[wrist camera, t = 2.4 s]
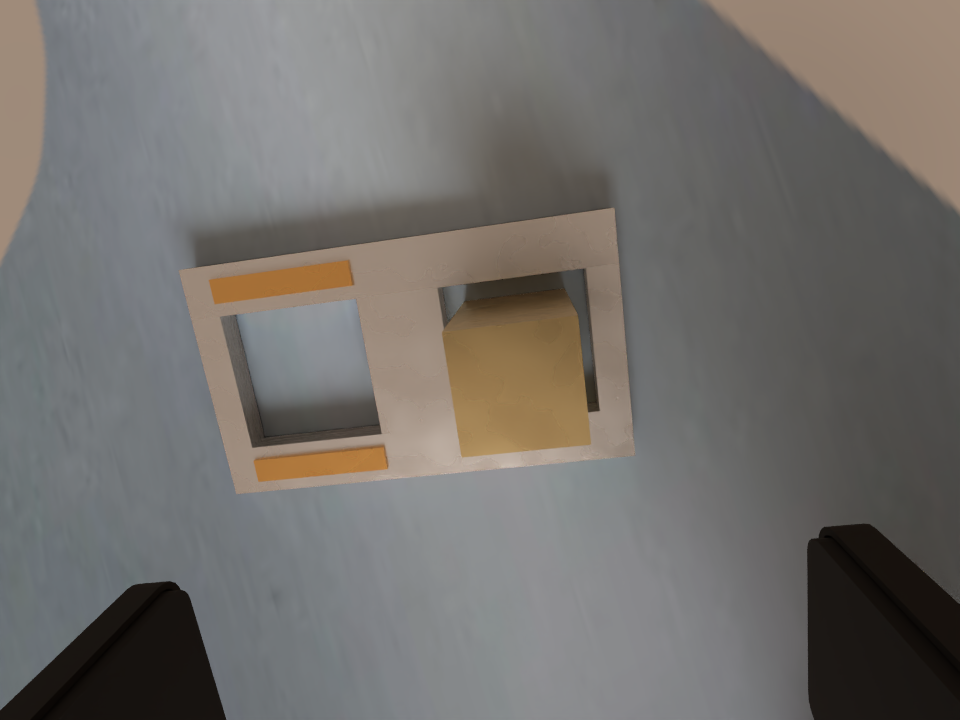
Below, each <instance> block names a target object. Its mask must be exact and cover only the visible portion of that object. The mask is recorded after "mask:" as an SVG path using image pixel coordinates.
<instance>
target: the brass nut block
mask: <svg viewBox="0 0 960 720" xmlns="http://www.w3.org/2000/svg"><path fill="white" fill-rule="evenodd" d="M442 337H443V344H444V350H445V356H446V363H447V369H448V375H449V382H450V388H451V394H452V401H453V407H454V413H455V420H456V426H457V432H458V439H459V445H460V451H461V457H472V456H482V455H493V454H503V453H513V452H523V451H533V450H543V449H553V448H563V447H573V446H583V445H591V438H590V428H589V418H588V408H587V399H586V389H585V379H584V369H583V359H582V350H581V340H580V330H579V320H578V314H577V312H576V310H575V308H574V306H573V304H572V302H571V300H570V298H569V296H568V294H567V292H566V290H565V288H563V289H555V290H547V291H539V292H532V293H524V294H516V295H508V296H501V297H493V298H485V299H478V300H470V301H464V303H463V304H462V305H461V307H460V308H459V309H458V311H457V312H456V314H455V315H454V316H453V318H452V319H451V320H450V322H449V323H448V324H447V326H446V327H445V328H444V330H443V331H442Z"/></svg>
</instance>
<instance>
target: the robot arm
mask: <svg viewBox="0 0 960 720" xmlns="http://www.w3.org/2000/svg"><path fill="white" fill-rule="evenodd" d="M807 568H808V695H809V703H810V708H811V711H812V715H813V717H814V720H960V604H959V603H957V602H956V601H955V600H954V599H953V598H952V597H951V596H950V595H949V594H948V593H946V592H945V591H944V590H943V589H942V588H941V587H940V586H939V585H938V584H936V583H935V582H934V581H933V580H932V579H931V578H930V577H929V576H928V575H927V574H925V573H924V572H923V571H922V570H921V569H920V568H919V567H918V566H917V565H915V564H914V563H913V562H912V561H911V560H910V559H909V558H908V557H907V556H906V555H904V554H903V553H902V552H901V551H900V550H899V549H898V548H897V547H896V546H894V545H893V544H892V543H891V542H890V541H889V540H888V539H887V538H886V537H885V536H883V535H882V534H881V533H880V532H879V531H878V530H877V529H876V528H874V527H873V526H871V525H870V524H855V525H843V526H831V527H824V528H822V529H821V531H820V534H819V538H816V539H811V540H809V543H808V548H807ZM0 720H226V717H225V714H224V710H223V707H222V704H221V700H220V697H219V694H218V690H217V687H216V684H215V680H214V677H213V674H212V670H211V667H210V664H209V660H208V657H207V654H206V650H205V647H204V644H203V640H202V637H201V634H200V630H199V627H198V623H197V620H196V617H195V613H194V610H193V607H192V603H191V600H190V597H189V595H188V594H187V593H186V592H185V591H183V590H180V588H179V586H178V585H177V584H176V583H174V582H171V581H168V582H156V583H144V584H136V585H133V586H131V587H130V588H128V589H127V590H126V591H125V592H124V593H123V594H122V595H121V596H120V597H119V598H118V599H117V600H116V601H115V602H113V603H112V604H111V605H110V606H109V607H108V608H107V609H106V610H105V611H104V612H103V613H102V614H101V615H100V616H99V617H98V618H97V619H96V620H95V621H94V622H92V623H91V624H90V625H89V626H88V627H87V628H86V629H85V630H84V631H83V632H82V633H81V634H80V635H79V636H78V637H77V638H76V639H75V640H74V641H73V642H72V643H70V644H69V645H68V646H67V647H66V648H65V649H64V650H63V651H62V652H61V653H60V654H59V655H58V656H57V657H56V658H55V659H54V660H53V661H52V662H51V663H50V664H48V665H47V666H46V667H45V668H44V669H43V670H42V671H41V672H40V673H39V674H38V675H37V676H36V677H35V678H34V679H33V680H32V681H31V682H30V683H29V684H28V685H26V686H25V687H24V688H23V689H22V690H21V691H20V692H19V693H18V694H17V695H16V696H15V697H14V698H13V699H12V700H11V701H10V702H9V703H8V704H7V705H6V706H4V707H3V708H2V709H1V710H0Z"/></svg>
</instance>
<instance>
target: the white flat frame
mask: <svg viewBox="0 0 960 720" xmlns="http://www.w3.org/2000/svg"><path fill="white" fill-rule="evenodd" d="M582 268H583V270H584V280H585V291H586V301H587V311H588V321H589V331H590V342H591V352H592V362H593V372H594V382H595V392H596V402H589V403H587V408H588V418H589V428H590V438H591V445H583V446H573V447H563V448H553V449H543V450H533V451H523V452H513V453H503V454H493V455H482V456H472V457H461V451H460V445H459V439H458V432H457V426H456V420H455V413H454V407H453V401H452V394H451V388H450V382H449V375H448V369H447V363H446V356H445V350H444V344H443V337H442V331H443V330H444V328H445V327H446V326H447V324H448V320H447V314H446V308H445V301H444V295H443V288H442V287H447V286H454V285H462V284H469V283H477V282H484V281H492V280H500V279H507V278H515V277H522V276H530V275H537V274H545V273H552V272H560V271H567V270H575V269H582ZM179 273H180V277H181V281H182V285H183V289H184V293H185V297H186V301H187V304H188V308H189V312H190V316H191V320H192V324H193V328H194V331H195V335H196V339H197V343H198V347H199V351H200V355H201V359H202V362H203V366H204V370H205V374H206V378H207V382H208V386H209V390H210V393H211V397H212V401H213V405H214V409H215V413H216V417H217V420H218V424H219V428H220V432H221V436H222V440H223V444H224V448H225V451H226V455H227V459H228V463H229V467H230V471H231V475H232V479H233V482H234V486H235V490H236V494H242V493H252V492H263V491H273V490H283V489H294V488H304V487H315V486H325V485H335V484H346V483H356V482H366V481H377V480H387V479H397V478H408V477H418V476H429V475H439V474H449V473H460V472H470V471H480V470H491V469H501V468H512V467H522V466H532V465H543V464H553V463H563V462H574V461H584V460H595V459H605V458H615V457H626V456H635V448H634V437H633V425H632V413H631V401H630V389H629V377H628V365H627V353H626V341H625V329H624V317H623V305H622V294H621V282H620V270H619V258H618V246H617V234H616V222H615V210H614V208H607V209H600V210H593V211H586V212H579V213H573V214H566V215H559V216H552V217H545V218H538V219H531V220H524V221H517V222H510V223H503V224H496V225H489V226H482V227H475V228H468V229H461V230H454V231H447V232H440V233H433V234H426V235H419V236H412V237H405V238H398V239H391V240H384V241H377V242H370V243H363V244H356V245H349V246H342V247H335V248H328V249H321V250H314V251H307V252H301V253H294V254H287V255H280V256H273V257H266V258H259V259H252V260H245V261H238V262H231V263H224V264H217V265H210V266H203V267H196V268H190V269H183V270H179ZM349 299H356V301H357V306H358V311H359V317H360V322H361V327H362V332H363V338H364V343H365V348H366V353H367V359H368V364H369V369H370V374H371V380H372V385H373V390H374V395H375V401H376V406H377V411H378V416H379V422H380V425H374V426H365V427H356V428H346V429H337V430H328V431H318V432H309V433H300V434H291V435H281V436H272V437H265V436H264V432H263V428H262V423H261V419H260V415H259V411H258V407H257V403H256V398H255V394H254V390H253V386H252V382H251V378H250V373H249V369H248V365H247V361H246V357H245V353H244V348H243V344H242V340H241V336H240V332H239V328H238V324H237V319H236V314H243V313H251V312H258V311H266V310H273V309H281V308H289V307H296V306H304V305H311V304H319V303H326V302H334V301H341V300H349Z"/></svg>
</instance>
